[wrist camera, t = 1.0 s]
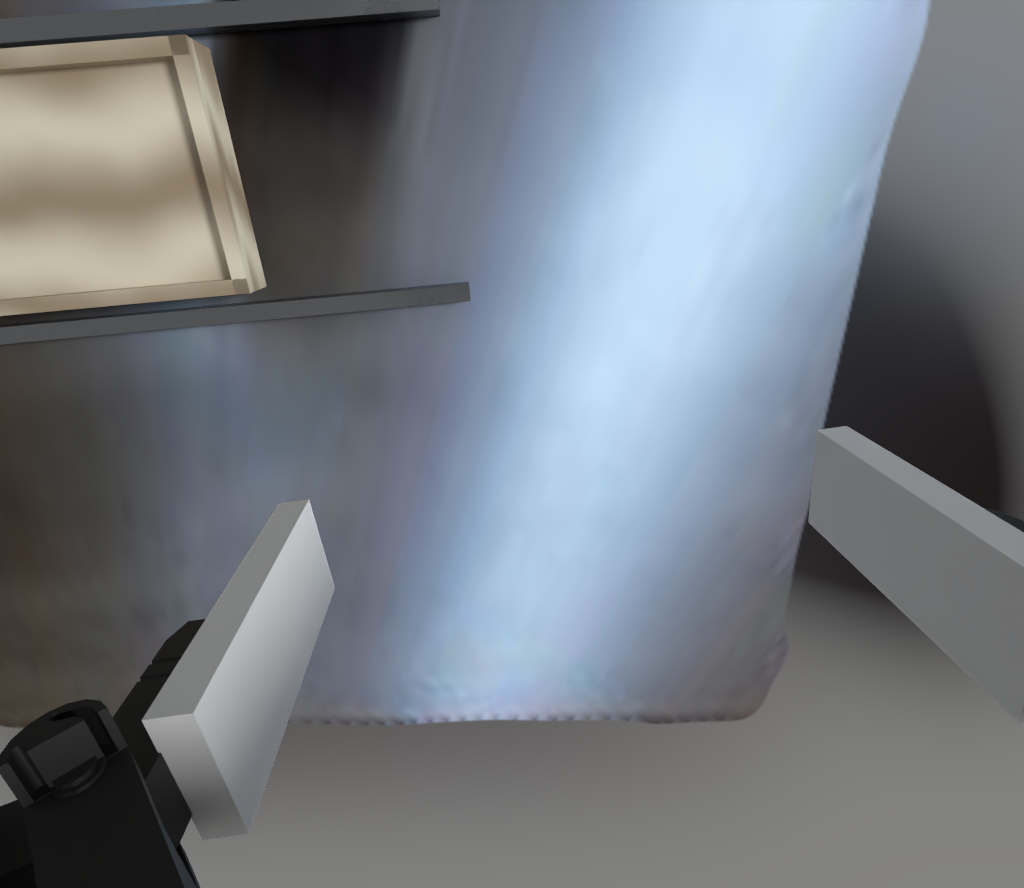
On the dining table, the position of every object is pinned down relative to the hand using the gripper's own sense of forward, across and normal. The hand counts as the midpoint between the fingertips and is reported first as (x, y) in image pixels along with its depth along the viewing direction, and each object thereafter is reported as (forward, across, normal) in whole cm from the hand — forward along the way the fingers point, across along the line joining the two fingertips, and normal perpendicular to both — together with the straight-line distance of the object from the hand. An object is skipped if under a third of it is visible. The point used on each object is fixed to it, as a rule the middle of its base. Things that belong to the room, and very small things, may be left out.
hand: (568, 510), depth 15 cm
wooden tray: (+25, -24, +11) cm, 36 cm away
